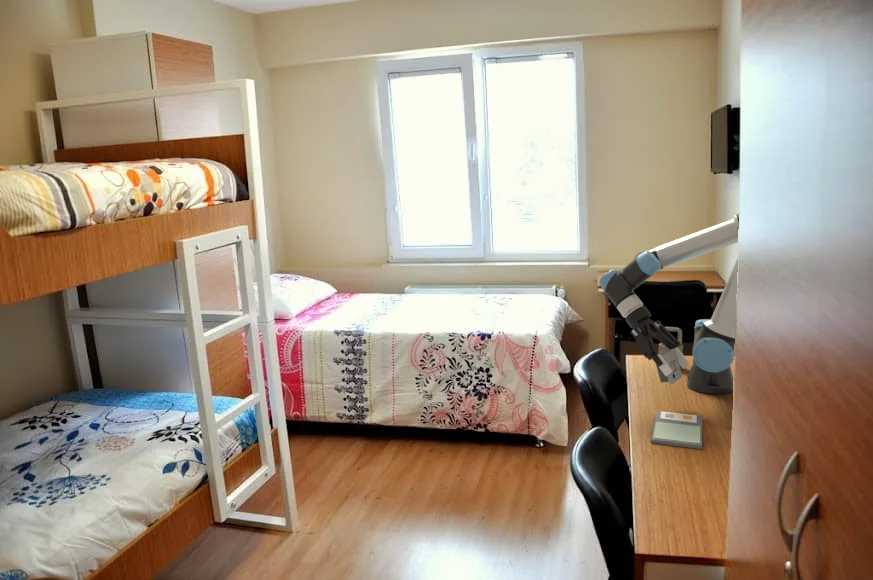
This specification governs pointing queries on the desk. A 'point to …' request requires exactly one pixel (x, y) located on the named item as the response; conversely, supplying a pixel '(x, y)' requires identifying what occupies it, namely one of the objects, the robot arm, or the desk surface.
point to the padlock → (664, 349)
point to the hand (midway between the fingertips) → (678, 370)
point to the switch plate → (677, 429)
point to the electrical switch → (673, 364)
